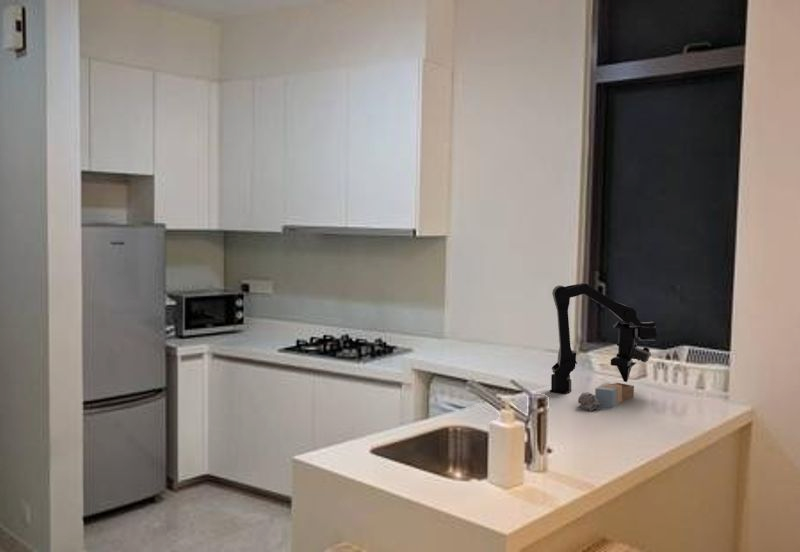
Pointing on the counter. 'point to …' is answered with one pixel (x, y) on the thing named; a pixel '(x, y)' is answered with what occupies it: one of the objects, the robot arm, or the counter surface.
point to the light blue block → (606, 396)
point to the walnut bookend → (627, 391)
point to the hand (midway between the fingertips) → (625, 381)
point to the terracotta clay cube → (619, 390)
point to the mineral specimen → (588, 402)
